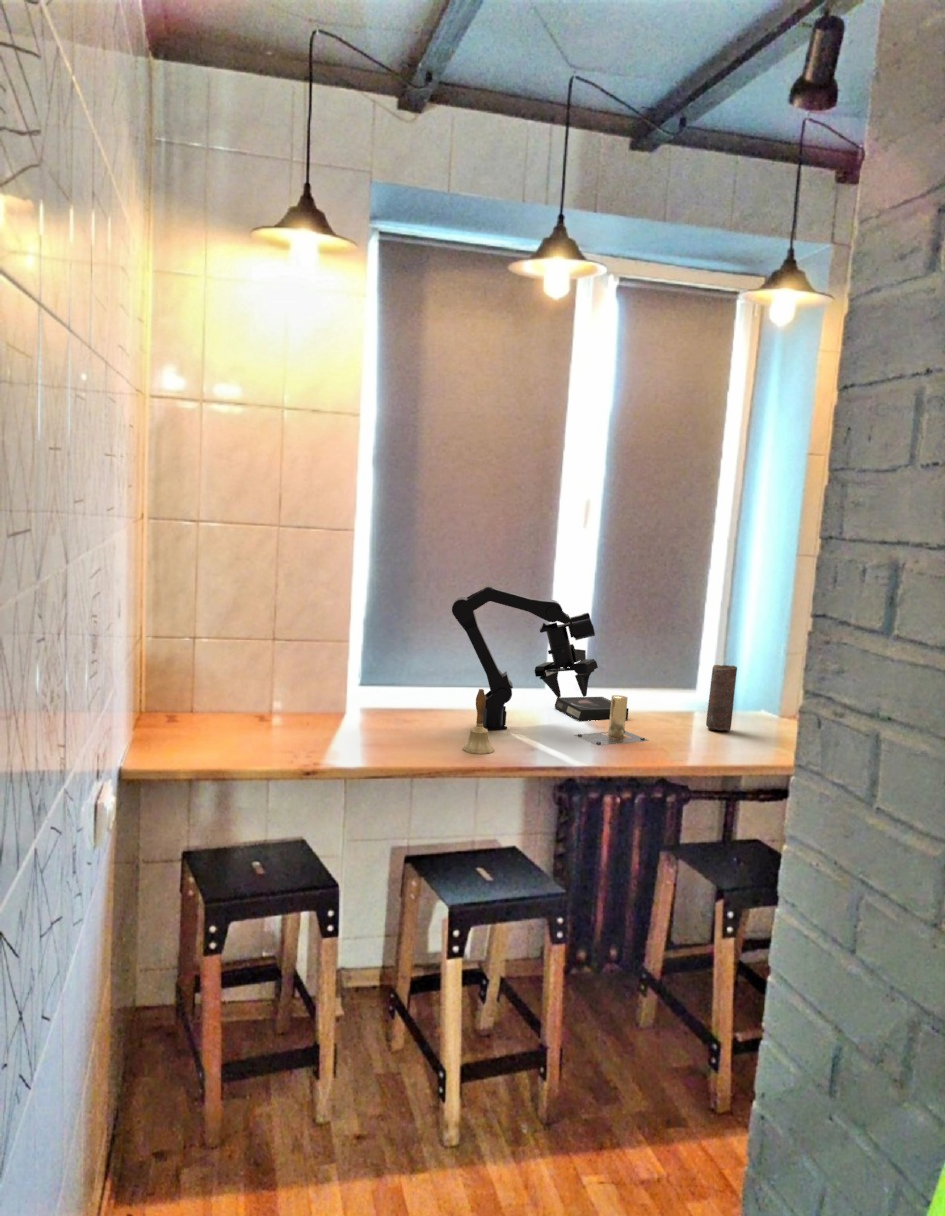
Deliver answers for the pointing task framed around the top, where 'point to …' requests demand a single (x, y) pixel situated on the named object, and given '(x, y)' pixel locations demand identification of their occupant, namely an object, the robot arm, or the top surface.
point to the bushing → (617, 716)
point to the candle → (721, 697)
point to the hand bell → (479, 730)
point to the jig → (605, 740)
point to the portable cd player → (586, 708)
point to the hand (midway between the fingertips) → (572, 696)
